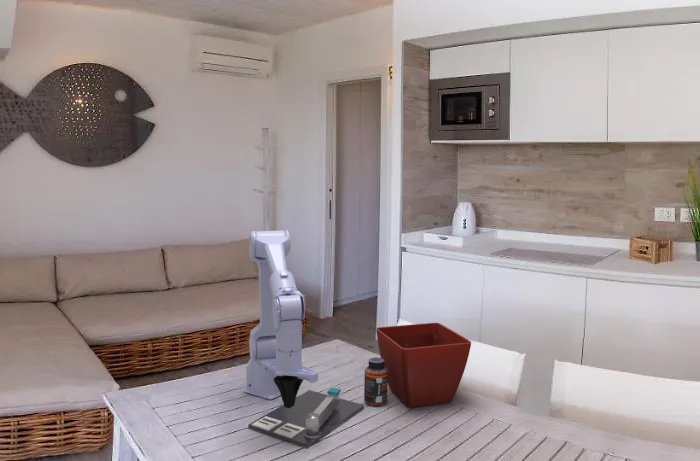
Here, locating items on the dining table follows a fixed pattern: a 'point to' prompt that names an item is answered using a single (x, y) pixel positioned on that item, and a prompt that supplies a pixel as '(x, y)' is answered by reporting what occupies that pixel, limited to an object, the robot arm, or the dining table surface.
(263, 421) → the label
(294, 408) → the tray
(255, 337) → the robot arm
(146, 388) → the dining table surface
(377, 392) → the supplement bottle
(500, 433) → the dining table surface
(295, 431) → the label
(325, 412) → the bar
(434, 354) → the plant pot
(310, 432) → the grey rounded cylinder
